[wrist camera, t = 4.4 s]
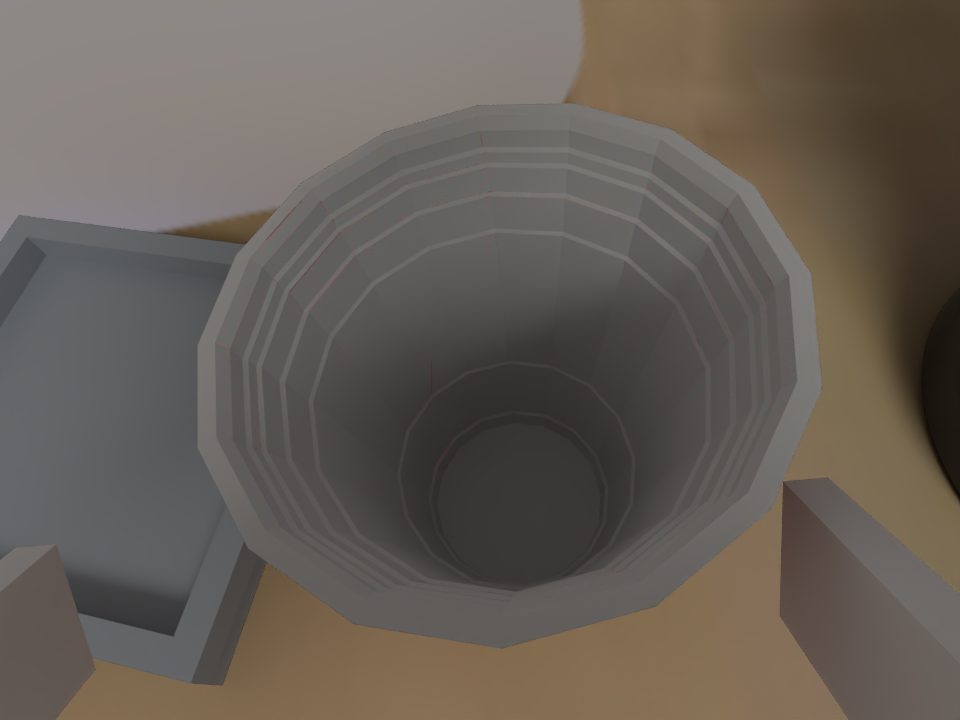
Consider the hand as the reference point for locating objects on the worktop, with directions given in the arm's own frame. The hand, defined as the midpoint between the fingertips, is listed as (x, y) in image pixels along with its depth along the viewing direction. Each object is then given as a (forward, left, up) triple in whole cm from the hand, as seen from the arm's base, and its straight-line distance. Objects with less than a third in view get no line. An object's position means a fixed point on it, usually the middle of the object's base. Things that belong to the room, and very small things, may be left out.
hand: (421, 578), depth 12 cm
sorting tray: (+14, -4, -9) cm, 17 cm away
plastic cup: (-1, -4, -9) cm, 10 cm away
